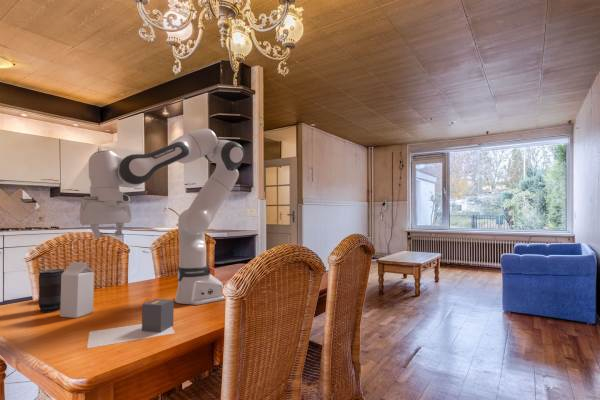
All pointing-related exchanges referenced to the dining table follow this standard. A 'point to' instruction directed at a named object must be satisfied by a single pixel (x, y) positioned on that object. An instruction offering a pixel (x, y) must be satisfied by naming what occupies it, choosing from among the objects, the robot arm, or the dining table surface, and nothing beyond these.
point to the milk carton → (77, 290)
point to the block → (157, 315)
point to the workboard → (122, 335)
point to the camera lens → (50, 290)
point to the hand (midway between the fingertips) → (108, 237)
